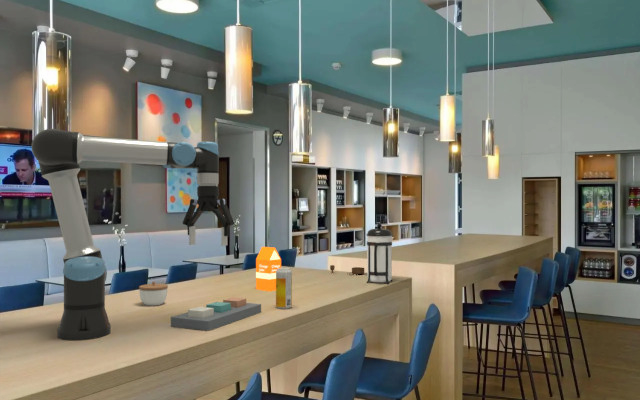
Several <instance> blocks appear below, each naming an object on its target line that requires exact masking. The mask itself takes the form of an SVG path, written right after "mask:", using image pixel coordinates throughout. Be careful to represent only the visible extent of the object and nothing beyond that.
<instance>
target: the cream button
mask: <svg viewBox="0 0 640 400" xmlns="http://www.w3.org/2000/svg"><path fill="white" fill-rule="evenodd" d="M187 312H188V317H194V318H206V317H209V316H212V315H214V308H207V307H206V306H196V307H193V308H190V309H187Z"/></svg>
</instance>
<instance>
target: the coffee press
mask: <svg viewBox="0 0 640 400" xmlns="http://www.w3.org/2000/svg"><path fill="white" fill-rule="evenodd" d="M382 225H383V224H382V223H377V225H376V226H377V228H370V229H369V230H368V231H367V233H366V237H367V240H366V245H367V246H366V247H367V248H366V251H367V256H366V258H367V261H366V262H367V263H366V264H367V268H366V269H367V272H366V273H367V274H366V276H367V281H366V284H369V283H370V284H372V283H382V284H385V283H387V284H386V285H390V282H393V278H392V274H393V273H392V269H393V266H392V265H393V264H392V258H393V257H392V254H393V252H392V250H393V249H392V246H393V241H392V239H393V238H392V237H393V233H392V231H391V230H389V229H387V228H382Z"/></svg>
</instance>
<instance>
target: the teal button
mask: <svg viewBox="0 0 640 400" xmlns="http://www.w3.org/2000/svg"><path fill="white" fill-rule="evenodd" d="M205 305H206V306H205V307H207V308H214V312H218V313H222V312H225V311H228V310H231V303H224V302H223V301H216V302H211V303H208V304H205Z"/></svg>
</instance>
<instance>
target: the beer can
mask: <svg viewBox="0 0 640 400" xmlns="http://www.w3.org/2000/svg"><path fill="white" fill-rule="evenodd" d="M292 273H293V272H292V269H291V268H289V267H281V268H278V269H277V271H276V290H275V306H276V308H277V309H279V310H280V309H281V310H288V309H291V308H292V306H293V299H292V298H293V294H292V293H293V285H292V283H293V282H292V281H293V278H292V277H293V274H292Z"/></svg>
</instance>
